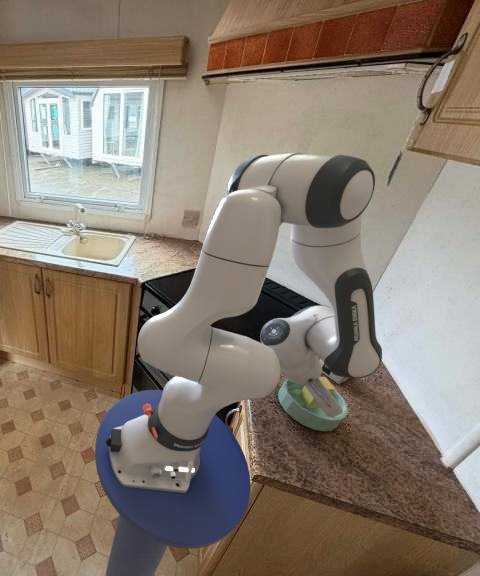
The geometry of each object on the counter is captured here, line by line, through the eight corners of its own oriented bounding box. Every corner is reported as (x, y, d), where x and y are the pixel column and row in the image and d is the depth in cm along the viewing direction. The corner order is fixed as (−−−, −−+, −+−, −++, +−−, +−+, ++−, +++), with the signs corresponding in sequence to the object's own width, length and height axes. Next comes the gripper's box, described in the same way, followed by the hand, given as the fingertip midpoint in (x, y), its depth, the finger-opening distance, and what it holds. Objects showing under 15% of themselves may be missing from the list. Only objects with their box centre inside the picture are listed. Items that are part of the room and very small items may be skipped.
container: (338, 384, 96) (360, 354, 89) (314, 367, 102) (333, 337, 95) (352, 377, 99) (374, 347, 92) (328, 360, 105) (347, 331, 98)
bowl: (300, 434, 81) (309, 422, 78) (266, 387, 93) (273, 375, 90) (351, 430, 83) (362, 417, 80) (311, 385, 95) (319, 372, 92)
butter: (307, 408, 85) (320, 389, 81) (298, 395, 88) (310, 376, 84) (321, 408, 85) (335, 389, 81) (312, 395, 89) (325, 376, 84)
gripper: (340, 394, 69) (358, 421, 75) (290, 333, 86) (308, 359, 92) (312, 406, 71) (332, 431, 77) (268, 344, 88) (287, 369, 94)
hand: (318, 391), depth 85 cm, fingers closed on butter, 4 cm apart
